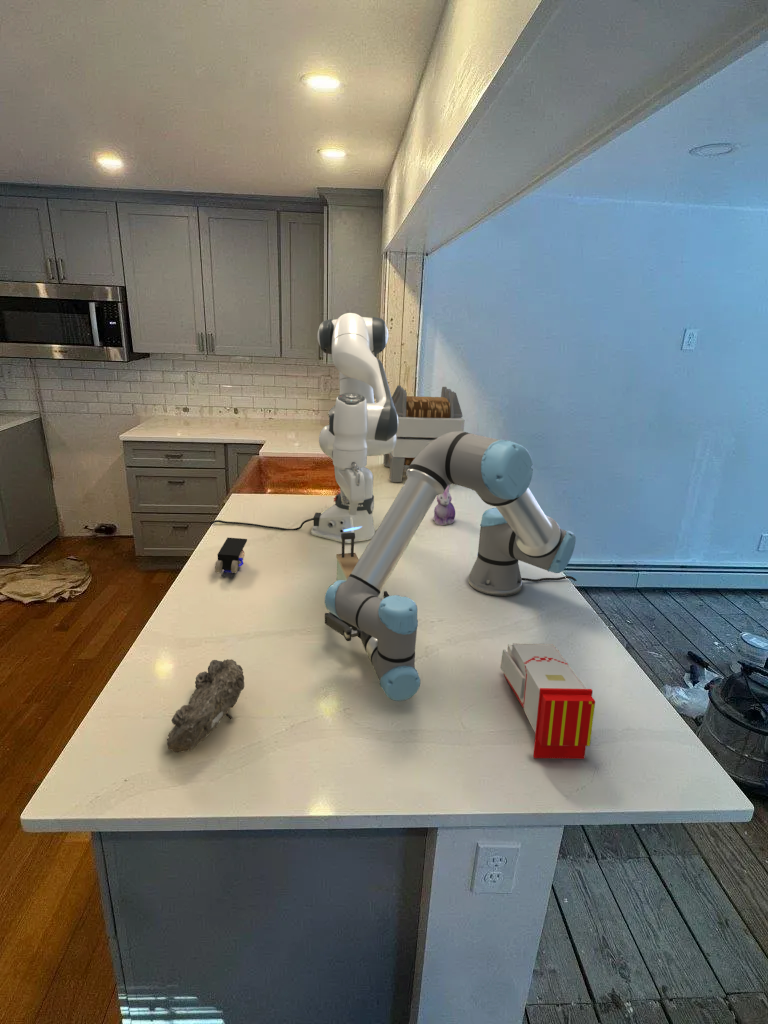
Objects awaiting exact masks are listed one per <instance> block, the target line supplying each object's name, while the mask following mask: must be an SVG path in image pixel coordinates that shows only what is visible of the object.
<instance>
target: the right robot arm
mask: <svg viewBox="0 0 768 1024" xmlns="http://www.w3.org/2000/svg"><path fill="white" fill-rule="evenodd" d="M532 466H533V458H532V456H531V454H530V452H529V451H528V449H527V448H526V447H525V446H523V445H522V444H520V443H516V442H514V441H512V440H509V439H498V438H493V437H488V436H485V435H479V434H474V433H471V432H470V433H469V432H467V431H464V432H462V431H455V432H450V433H447V434H444V435H442V436H440V437H438V438H436V439H435V440H433V441H432V442H431V443H429V444H428V445H427V446H426V447H425V448H424V449H423V450H422V451H421V452H420V453H419V454H418V455H417V456H416V457H415V459H414V460H413V461H412V463H411V464H410V466H408V468H407V469H406V471H405V475H406V480H405V481H404V483H403V485H402V487H401V488H400V490H399V492H397V493H398V494H397V495H396V497H395V498H394V500H393V502H392V504H391V505H390V507H389V508H388V510H387V512H386V513H385V515H384V517H383V519H382V520H381V522H380V523H379V525H378V527H377V528H376V529H375V534H374V535H373V537H372V539H369V540H370V541H368V544H367V546H366V547H365V549H364V550H363V552H362V554H361V556H360V557H359V558H358V559H359V561H358V562H357V564H356V566H355V567H354V569H353V571H352V572H351V574H350V575H349V577H348V579H347V580H346V581H344V580H338V581H336V580H335V581H334V582H333V584H331V585H330V586H328V588H327V590H326V592H325V595H324V606H325V608H326V610H327V611H328V612H325V613H324V624H325V625H326V626H328V627H329V628H331V629H332V630H333V631H335V632H336V633H337V634H340V635H341V636H342V637H343V638H344V639H345V641H346V642H351V641H352V638H358V639H360V640H361V644H362V646H363V648H364V651H365V652H366V654H367V657H368V659H369V661H370V663H371V666H372V668H373V670H374V673H375V675H376V678H377V681H378V683H379V686H380V688H381V689H382V691H383V693H384V695H386V697H387V698H388V699H390V700H391V701H394V702H403V701H406V700H410V699H412V697H414V696H415V695H416V694H417V693H418V692H419V689H420V687H421V677H420V675H419V672H418V670H417V669H416V667H415V664H416V663H415V662H416V643H417V633H418V626H419V621H418V606H417V603H416V602H415V601H414V600H413V599H412V598H410V597H408V596H401V595H399V594H394V595H389V592H388V591H387V590H383V589H384V587H385V585H386V584H387V582H388V581H389V578H390V576H391V575H392V573H393V572H394V571H395V570H394V569H395V568H396V567H397V564H398V562H399V561H400V560H401V558H402V556H403V554H404V553H405V551H406V549H407V548H408V546H409V544H410V542H411V540H412V539H413V537H414V536H415V534H416V532H417V530H418V528H419V527H420V525H421V523H422V521H423V520H424V518H425V517H426V515H427V513H428V511H429V510H430V508H431V506H432V505H433V503H434V501H435V500H436V498H437V496H438V495H441V494H443V493H444V491H445V489H446V488H447V486H448V485H450V486H451V485H456V486H459V487H463V488H466V489H470V490H472V491H474V492H475V493H476V494H477V495H478V497H479V498H480V499H481V501H482V502H484V503H485V504H486V505H488V506H491V508H488V509H486V510H485V511H484V512H483V513H482V515H481V520H480V521H481V522H480V524H479V526H480V527H479V537H478V538H479V539H478V547H477V549H478V550H477V558H476V559H475V561H474V564H473V566H472V568H471V570H470V572H469V575H468V584H469V586H470V587H471V588H473V589H474V590H475V591H477V592H480V593H482V594H486V595H489V596H490V595H491V596H496V597H508V596H513V595H516V594H518V593H519V592H520V591H522V585H523V581H526V582H532V583H538V582H543V581H561V580H566V578H567V579H569V580H572V581H574V582H577V579H576V578H575V577H574V576H572V575H566V576H560V577H541V578H528V577H522V575H521V574H522V573H521V570H520V569H521V568H520V565H519V562H523V563H525V564H528V565H531V566H533V567H535V568H539V569H542V570H544V571H547V572H548V573H553V574H560V573H562V572H563V571H564V570H565V569H566V568H567V567H568V564H569V562H570V561H571V558H572V556H573V554H574V550H575V547H576V541H577V539H576V538H577V537H576V535H575V533H574V532H573V531H570V530H568V529H567V530H565V529H562V528H561V527H560V525H559V524H558V522H557V521H556V520H555V519H554V518H552V517H551V516H550V515H549V516H548V515H546V514H545V512H544V511H543V509H542V508H541V506H540V504H539V502H538V501H537V499H536V498H535V496H534V494H533V492H532V491H531V490H530V488H529V487H530V485H531V481H532V480H533V479H532V478H533V473H534V472H533V471H534V469H533V468H532ZM565 577H566V578H565ZM382 590H383V596H382V597H383V598H381V597H379V595H380V594H381V592H382Z"/></svg>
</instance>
